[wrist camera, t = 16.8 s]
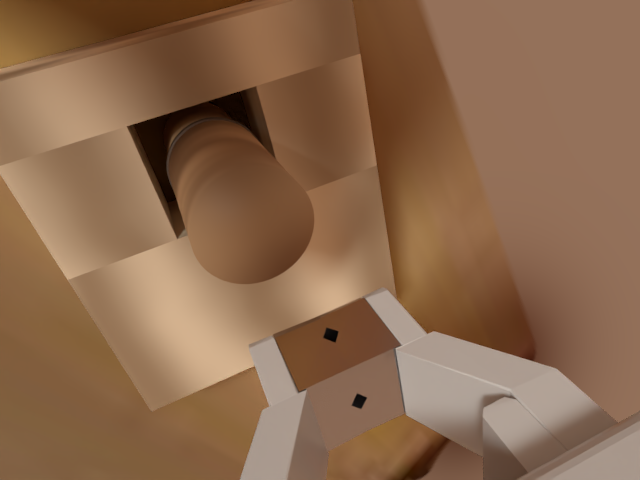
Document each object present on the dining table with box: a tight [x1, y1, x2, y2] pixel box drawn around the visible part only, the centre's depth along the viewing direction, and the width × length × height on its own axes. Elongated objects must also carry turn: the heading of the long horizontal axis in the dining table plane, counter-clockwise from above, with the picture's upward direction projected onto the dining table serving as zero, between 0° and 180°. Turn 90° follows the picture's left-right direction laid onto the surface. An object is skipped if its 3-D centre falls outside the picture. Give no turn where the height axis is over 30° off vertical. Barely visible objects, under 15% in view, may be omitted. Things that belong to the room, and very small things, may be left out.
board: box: [0, 0, 397, 412], centre depth 22 cm, size 14×16×4 cm
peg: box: [163, 102, 314, 284], centre depth 18 cm, size 4×4×10 cm
